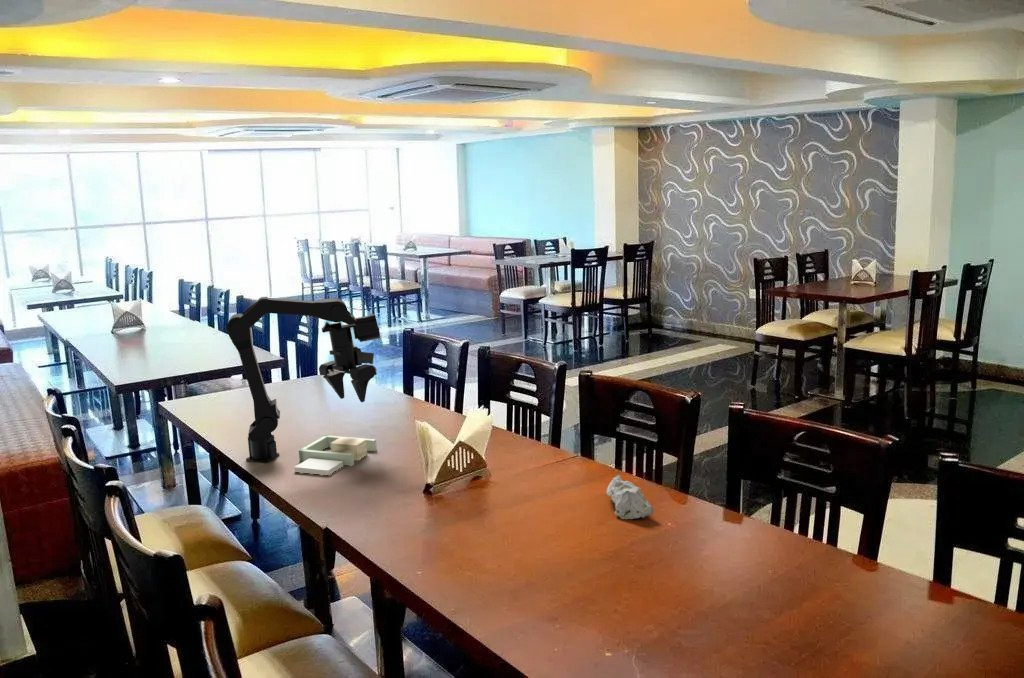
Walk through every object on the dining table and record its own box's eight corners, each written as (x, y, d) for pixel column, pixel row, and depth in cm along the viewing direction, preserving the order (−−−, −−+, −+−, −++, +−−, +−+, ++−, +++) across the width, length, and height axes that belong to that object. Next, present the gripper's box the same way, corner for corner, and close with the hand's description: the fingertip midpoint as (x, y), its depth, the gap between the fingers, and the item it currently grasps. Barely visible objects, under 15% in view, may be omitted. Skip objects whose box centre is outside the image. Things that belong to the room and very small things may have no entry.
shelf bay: (299, 461, 217) (298, 450, 216) (326, 445, 229) (325, 435, 229) (351, 466, 212) (351, 455, 211) (376, 449, 224) (375, 439, 224)
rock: (594, 498, 186) (594, 470, 185) (623, 494, 188) (623, 466, 187) (623, 525, 171) (623, 495, 170) (654, 520, 173) (654, 490, 172)
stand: (294, 472, 208) (294, 467, 208) (309, 463, 215) (309, 458, 215) (328, 476, 205) (328, 470, 205) (343, 466, 212) (342, 461, 211)
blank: (331, 459, 219) (330, 443, 218) (341, 453, 223) (340, 437, 222) (358, 461, 216) (356, 445, 215) (367, 455, 221) (366, 439, 220)
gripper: (387, 339, 220) (396, 394, 223) (346, 336, 232) (355, 388, 236) (354, 350, 212) (364, 407, 215) (313, 346, 224) (323, 399, 228)
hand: (352, 400), depth 224 cm, fingers open, 9 cm apart
